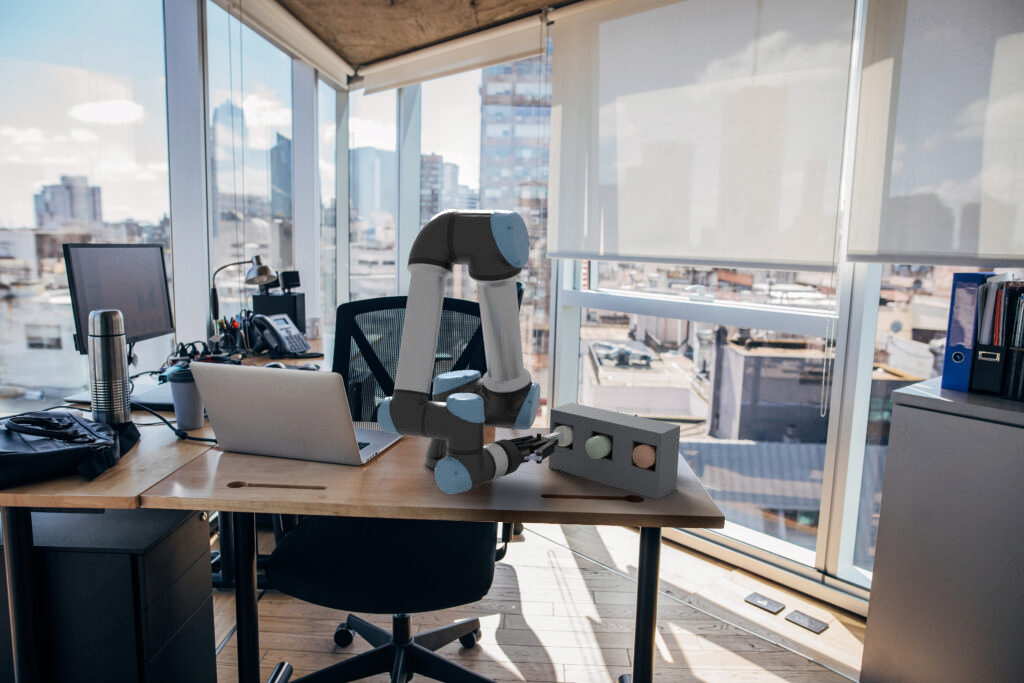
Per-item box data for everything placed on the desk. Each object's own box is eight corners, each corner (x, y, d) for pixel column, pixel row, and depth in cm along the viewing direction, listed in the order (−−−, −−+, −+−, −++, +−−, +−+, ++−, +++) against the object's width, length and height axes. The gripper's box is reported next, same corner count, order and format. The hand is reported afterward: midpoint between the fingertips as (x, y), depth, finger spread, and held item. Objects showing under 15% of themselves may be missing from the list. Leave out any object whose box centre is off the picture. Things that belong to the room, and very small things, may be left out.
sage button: (603, 461, 148) (604, 440, 147) (584, 456, 151) (585, 435, 150) (612, 457, 151) (613, 436, 150) (594, 452, 154) (595, 432, 154)
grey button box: (657, 499, 143) (661, 433, 141) (548, 467, 162) (550, 409, 160) (676, 488, 150) (680, 425, 148) (569, 459, 169) (571, 402, 167)
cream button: (569, 448, 157) (570, 428, 156) (552, 444, 160) (553, 424, 159) (578, 445, 160) (579, 425, 159) (562, 440, 163) (562, 421, 162)
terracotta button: (651, 470, 143) (653, 448, 142) (631, 465, 146) (632, 443, 145) (660, 466, 146) (661, 444, 145) (640, 460, 149) (641, 439, 148)
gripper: (474, 469, 145) (539, 446, 162) (519, 484, 136) (582, 457, 154) (474, 436, 143) (540, 416, 161) (520, 449, 135) (584, 427, 153)
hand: (560, 436), depth 158 cm, fingers closed
